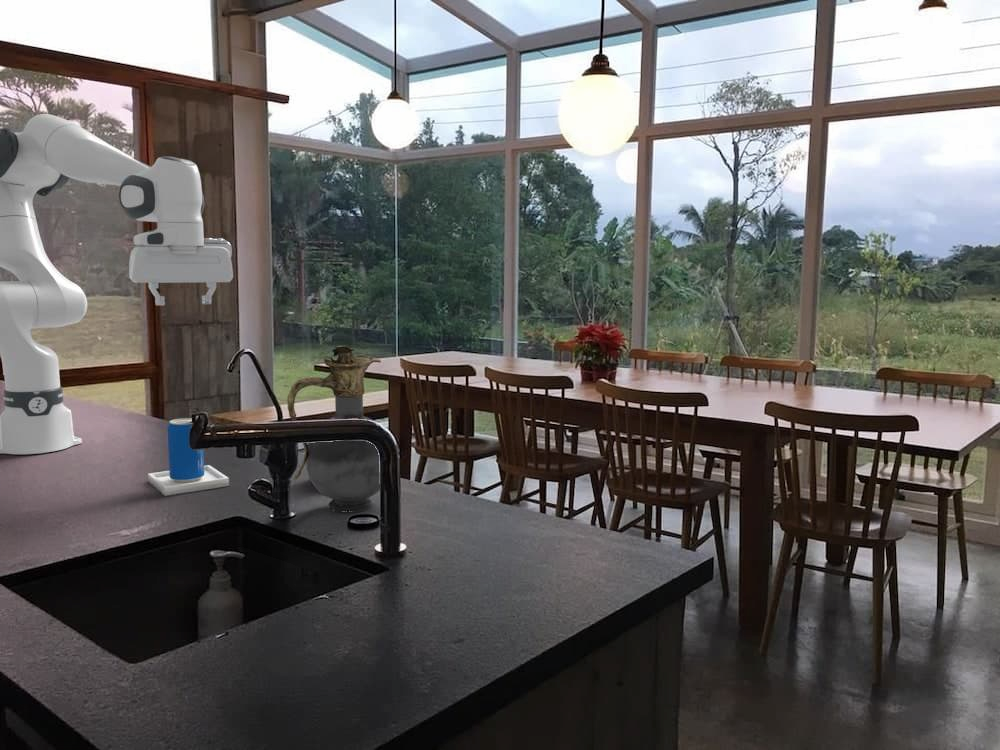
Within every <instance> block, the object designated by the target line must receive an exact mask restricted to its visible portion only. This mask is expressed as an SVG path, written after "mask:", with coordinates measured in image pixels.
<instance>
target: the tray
mask: <svg viewBox="0 0 1000 750" xmlns="http://www.w3.org/2000/svg"><path fill="white" fill-rule="evenodd" d="M147 478H148V480H147V481H148V482H149V484H151V485H152V486H153V487H154V488H155V489H157V491H159V492H160V493H161V494H162V495H163V496H164V497H166V496H167V497H168V496H173V495H178V494H179V495H180V494H186V493H193V492H197V491H204V490H205V491H206V490H210V489H219V488H223V487H224V488H225V487H229V486H230V478H229V477H228V476H226V475H225V473H224V474H223V473H222V472H220V471H219V470H217V469H216V468H215V467H213V466H211V465H209V464H208V465H204V476H203V477H201V479H200V480H198V481H195V482H189V483H178V482H175V481H174V480H173V479H171V478H170V470H165V471H159V472H151V473H147Z"/></svg>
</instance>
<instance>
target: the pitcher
mask: <svg viewBox="0 0 1000 750" xmlns="http://www.w3.org/2000/svg"><path fill="white" fill-rule="evenodd" d="M355 351H357V350H356V349H355V348H351V346H350V347H349V346H347V345H337V346H334V348H333V349H332V351H331V352H332V353H333V357H337V356H338V357H337V359H334V358H333V357H331V356H328V355H325V356H323V357H322V356H321V357H320V359H323V362H324V364H325V366H326V367H329V369H330V373H329V374H328V376H327V377H324V378H322V377H314V376H306V377H303V378H300V379H298V380H296V381H295V382H294V383H292V386H291V388H290V390H289V392H288V395H287V410H288V415H289V418H290V419H291V422H292V421H293V420H297V413H296V411H295V400H296V396H297V395H298V392H299V391H301V390H302V389H304V388H307V387H310V386H315V387H316V386H317V387H320V388H327V389H331V390H332V393H333V396H335V397H334V399H335V405H334V406H335V416H333V417H331V418H330V419H348V418H358V419H367V420H372V421H375V420H374V419H371V418H369V417H367V416H364V396H363V395H365V385H364V384H365V383H364V378H365V374H366V371H367V370H368V368H369V367H370V365H372V364H373V363H379V364H381V359H379V358H376V357H369V356H366V355H354V354H353V353H352V352H355ZM302 445H303V449H304V456H303V460H302V463H301V465H300V467H299V469H298V470H297V472H296V474H295V478H294V480H295V481H296V480H297V479H298V478H299V477H300V476H301V473H302V471H303V468H304V467H306V471H307V475H308V478H309V481H311V483H312V485H313V486H314V488H315V489H316V490H317V491H318V493H320V494H321V495H323V496H325V497H326V498H329V499H331V501H330V502H329V503H328V508H329V510H330V509H332V510H331V511H333V510H334V511H333V512H335V511H345V512H344V513H348V512H349V511H358V512H360V511H359V510H363V509H366V510H368V509H370V508H372V506H373V505H374V504H373V501H372V499H371V497H373V496H374V495H375V494H377V493H378V492H380V491H381V490H380V484H379V455H378V451H377V449H376V448H375V446H374V445H373V444H371V443H369V442H366V441H333V442H315V443H308V442H307V443H302ZM369 507H370V508H369ZM367 508H368V509H367ZM346 511H347V512H346ZM363 511H364V510H363ZM349 513H350V512H349Z"/></svg>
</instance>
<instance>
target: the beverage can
mask: <svg viewBox="0 0 1000 750" xmlns="http://www.w3.org/2000/svg"><path fill="white" fill-rule="evenodd" d="M192 418H193V417H182V418H174V419H172V420H169V425H168V426H167V444H168V446H167V448H168V466H169V468H168V469H169V470H168V471H170V478H171V479H173V480H174V481H175V482H178V483H189V482H195V481H198V480H200V479H201V477H203V476H204V466H205V457H204V456H205V455H204V449H203V450H193V449H191V448H190V445H189V433H190V426H191V425H192Z"/></svg>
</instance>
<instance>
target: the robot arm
mask: <svg viewBox="0 0 1000 750" xmlns="http://www.w3.org/2000/svg"><path fill="white" fill-rule="evenodd" d="M70 179H73V180H76V181H78V182H79V181H80V182H84V183H91V184H101V185H102V184H103V185H111V186H112V185H113V186H119V189H118V200H119V201H118V202H119V205H120V208H121V209H122V211H123V213H124V214H125V215H126V216H127V217H128V218H130V219H131V220H136V221H139V222H149V223H150V222H152V223H157V226H156V227H157V228H156V229H150V230H147V231H146V232H142V233H138V234H136V235H134V236H133V244H134V245H135V247H133V248H132V250H131V252H130V255H129V262H128V263H129V265H128V276H129V279H130V280H131V281H132V282H133V283H135V284H139V283H140V284H142V283H143V284H148V289H149V291H150V292H151V294H152V296H153V297H154V299H155V300H154V303H155V306H165V305H166V302H165V300H166V299H165V298H166V297H165V296H164V295H163V296H161V294H160V293H159V291H158V290H157V289H159V288H160V287H159V284H160V283H161V284H162V283H165V284H166V283H206V287H207V288H208V290H207V292H206V293H205V295H201V304H202V305H212V301H213V300H212V296H213V295H214V293H215V291H216V289H217V283H231V281H232V280H233V278H234V272H233V263H232V255H233V253H232V252H233V249H232V245H231V244H230V242H229V241H228V240H225V239H224V238H213V237H212V238H211V237H209V238H208V237H205V235H204V221H203V217H202V214H203V212H204V209H205V204H206V203H205V197H204V193H203V189H202V187H203V186H202V179H201V175H200V171H199V168H198V166H197V164H196V163H195V162H194V161H192V160H190V159H186V158H179V157H174V156H169V155H168V156H160V157H158V158H157V159H156V161H155V162H154V163H153V164H152V165H151V166H150V165H148V164H147V163H144V162H141V161H140V160H138V159H136V158H135V157H132V156H130V155H128V154H127V153H125V152H123V151H122V150H120V149H118V148H117V147H115V146H113V145H111V144H109V143H108V142H107V141H104V140H103V139H101V138H99V137H98V136H96V135H94V134H93V133H91V132H90V131H89V130H87V129H85V128H83V127H82V126H80V125H78V124H76V123H74V122H72V121H70V120H68V119H65V118H63V117H60V116H56V115H54V114H50V113H41V114H37V115H35V116H33V117H31V118H30V119H29V120H28V121H27V123H26V125H25V126H24V128H23V131H21V132H14V131H12V130H11V129H10V128H9V127H5V128H0V268H2V269H4V270H6V271H9V272H10V273H12V274H13V275H14V276H15V277H16V278H17V279H18V280H17V281H15V280H12V281H11V280H7V281H6V280H5V281H4V280H3V281H2V280H1V281H0V359H1V363H2V368H3V376H4V385H5V389H4V390H3V396H2V397H3V398H2V399H3V406H5V408H4V410H3V411H2V413H0V454H5V455H6V454H8V455H34V454H37V455H38V454H45V453H50V452H56V451H61V450H65V449H68V448H70V447H72V446H76V445H80V444H82V443H83V439H82V438H81V437H78V436H75V434H74V425H73V416H72V410H71V409H69V407H67V406H65V405H64V403H63V402H64V391H63V386H61V380H60V379H61V378H60V366H59V365H60V363H59V357H58V355H57V353H56V352H55V351H54V350H53V349H52V348H50V347H48V346H45V345H43V344H42V343H39V342H35V341H34V339H33V337H32V334H31V330H32V329H33V330H34V329H50V328H53V329H54V328H61V327H65V326H66V327H67V326H70V325H74V324H78V323H80V322H81V321H82V320H83V319H84V317H85V315H86V313H87V310H88V299H87V295H86V294H85V292H84V290H83V289H82V288H81V287H80V285H78V284H77V283H74V282H73V281H71V280H69V279H68V278H67V277H65V276H64V275H63V274H62V273H60V271H59V270H58V269H57V268H56V267H55V266H54V264H53V263H52V261H51V260H50V259H49V256H48V255H47V253H46V251H45V249H44V245H43V244H44V243H43V242H42V239H41V235H40V231H39V226H38V221H37V218H36V214H35V211H34V207H33V206H34V204H33V200H34V198H35V195H36V194H37V195H39V196H42V197H46V196H49V195H51V193H52V192H54V191H57V190H59V189H61V188H63V187H64V186H65V185H66V184H67V183H68V182H69V181H70Z"/></svg>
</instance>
